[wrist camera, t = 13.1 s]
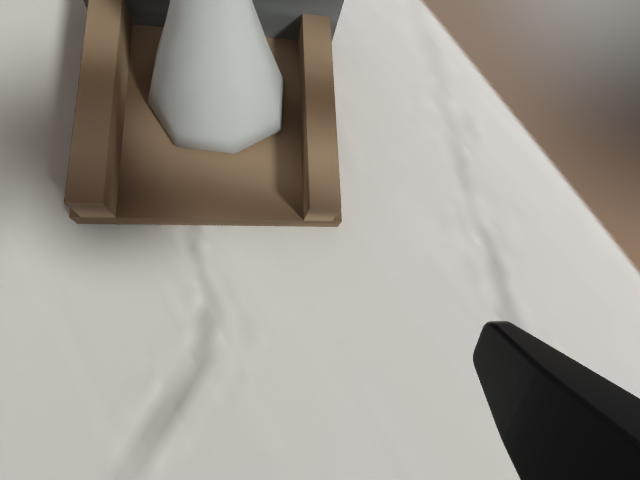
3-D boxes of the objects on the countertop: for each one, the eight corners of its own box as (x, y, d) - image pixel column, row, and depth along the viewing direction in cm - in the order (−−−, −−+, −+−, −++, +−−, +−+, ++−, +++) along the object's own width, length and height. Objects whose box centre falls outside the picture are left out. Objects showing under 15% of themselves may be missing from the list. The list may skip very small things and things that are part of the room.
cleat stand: (337, 226, 23) (370, 183, 17) (77, 223, 20) (14, 172, 15) (326, 27, 26) (350, -64, 20) (101, 4, 24) (58, -107, 18)
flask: (136, 46, 22) (60, -182, 13) (268, 32, 24) (287, -177, 15) (162, 168, 21) (97, 12, 11) (301, 145, 23) (345, -8, 13)
